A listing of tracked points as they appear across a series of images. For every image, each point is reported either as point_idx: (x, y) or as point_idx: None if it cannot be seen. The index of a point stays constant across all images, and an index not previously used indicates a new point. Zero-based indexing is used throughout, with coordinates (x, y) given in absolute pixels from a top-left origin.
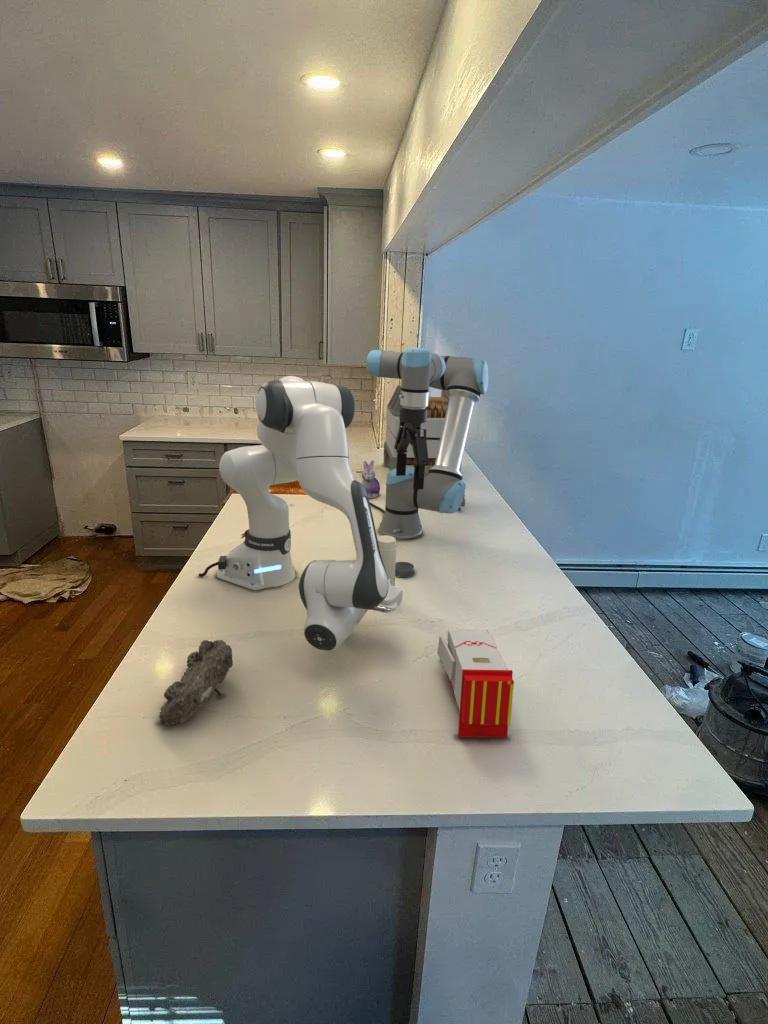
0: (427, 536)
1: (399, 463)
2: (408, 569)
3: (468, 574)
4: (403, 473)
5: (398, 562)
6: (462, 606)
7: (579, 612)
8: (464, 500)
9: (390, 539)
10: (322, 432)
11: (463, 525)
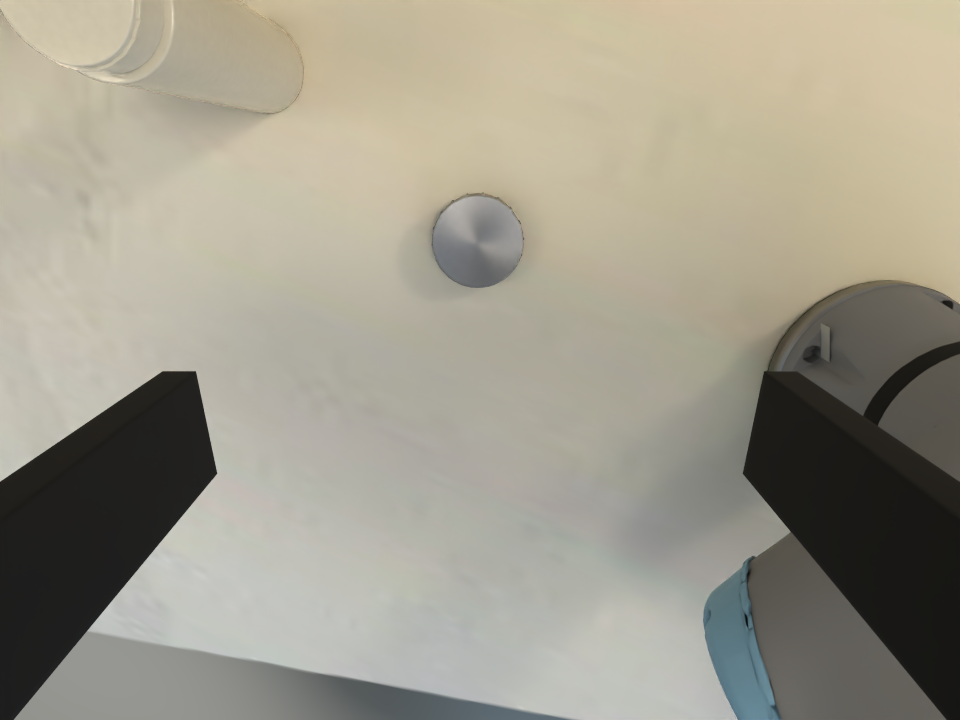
0: None
1: (869, 491)
2: (442, 252)
3: (412, 461)
4: (759, 463)
5: (518, 234)
6: (187, 345)
7: (135, 625)
8: None
9: (48, 15)
10: None
11: None
